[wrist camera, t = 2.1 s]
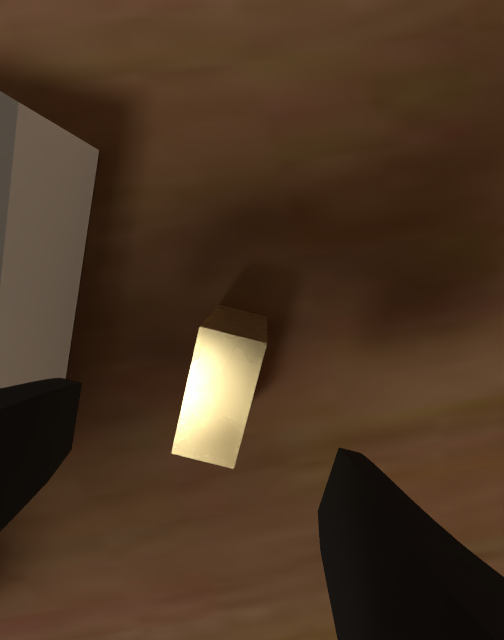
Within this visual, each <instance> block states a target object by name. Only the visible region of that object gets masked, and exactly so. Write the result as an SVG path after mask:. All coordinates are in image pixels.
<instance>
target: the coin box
mask: <svg viewBox="0 0 504 640" xmlns="http://www.w3.org/2000/svg"><path fill="white" fill-rule="evenodd" d="M98 155H99V150H98V149H96V148H95V147H93V146H91V145H90V144H88V143H86V142H85V141H83V140H81V139H79V138H78V137H76V136H74V135H73V134H71V133H69V132H68V131H66V130H64V129H63V128H61V127H59V126H58V125H56V124H54V123H53V122H51V121H49V120H48V119H46V118H44V117H43V116H41V115H39V114H38V113H36V112H34V111H33V110H31V109H29V108H28V107H26V106H24V105H23V104H21V103H19V102H18V101H16V100H14V99H13V98H11V97H9V96H8V95H6V94H4V93H3V92H1V91H0V388H5V387H10V386H14V385H19V384H24V383H29V382H33V381H39V380H44V379H51V378H64V379H66V373H67V366H68V359H69V353H70V346H71V339H72V332H73V325H74V319H75V312H76V305H77V298H78V291H79V284H80V278H81V271H82V264H83V257H84V250H85V244H86V237H87V230H88V223H89V216H90V210H91V203H92V196H93V189H94V182H95V175H96V169H97V162H98Z"/></svg>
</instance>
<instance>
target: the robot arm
mask: <svg viewBox="0 0 504 640" xmlns="http://www.w3.org/2000/svg"><path fill="white" fill-rule="evenodd" d="M81 385H82V383H80V382H76V381H72V380H68V379H64V378H51V379H44V380H39V381H33V382H29V383H24V384H19V385H14V386H10V387H5V388H0V531H1V530H2V529H3V528H4V527H5V526H6V525H7V524H8V523H9V522H10V521H11V520H12V519H13V518H14V517H15V516H16V515H17V514H18V513H19V511H20V510H21V509H22V508H23V507H24V506H25V505H26V504H27V503H28V502H29V501H30V500H31V499H32V498H33V497H34V496H35V495H36V494H37V493H38V491H39V490H40V489H41V488H42V487H43V486H44V485H45V484H46V483H47V482H48V480H49V479H50V478H51V477H52V475H53V474H54V473H55V471H56V470H57V469H58V467H59V466H60V465H61V463H62V462H63V460H64V459H65V458H66V456H67V455H68V453H69V452H70V451H71V449H72V442H73V436H74V430H75V423H76V417H77V410H78V404H79V397H80V391H81ZM318 522H319V538H320V550H321V555H322V561H323V566H324V572H325V577H326V582H327V587H328V593H329V598H330V603H331V608H332V613H333V618H334V623H335V628H336V633H337V638H338V640H504V577H503V576H502V575H500V574H499V573H498V572H496V571H495V570H494V569H493V568H491V567H490V566H489V565H487V564H486V563H485V562H483V561H482V560H481V559H480V558H478V557H477V556H476V555H474V554H473V553H472V552H471V551H470V550H468V549H467V548H466V547H465V546H463V545H462V544H461V543H460V542H459V541H457V540H456V539H455V538H454V537H453V536H452V535H451V534H449V533H448V532H447V531H446V530H445V529H444V528H442V527H441V526H440V525H439V524H438V523H437V522H436V521H434V520H433V519H432V518H431V517H430V516H429V515H428V514H427V513H426V512H424V511H423V510H422V509H421V508H420V507H419V506H418V505H417V504H416V503H415V502H414V501H413V500H412V499H410V498H409V497H408V496H407V495H406V494H405V493H404V492H403V491H402V490H401V489H400V488H399V487H398V486H397V485H396V484H395V483H394V482H393V481H392V480H391V479H389V478H388V477H387V476H386V475H385V474H384V473H383V472H382V471H381V470H380V469H379V468H378V467H377V466H376V465H375V464H374V463H372V462H371V461H370V460H369V459H368V458H367V457H365V456H364V455H363V454H361V453H359V452H355V451H351V450H347V449H343V448H339V449H338V452H337V455H336V458H335V461H334V464H333V467H332V470H331V473H330V476H329V479H328V482H327V485H326V488H325V491H324V494H323V497H322V500H321V503H320V506H319V509H318Z"/></svg>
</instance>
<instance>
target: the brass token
mask: <svg viewBox="0 0 504 640" xmlns="http://www.w3.org/2000/svg"><path fill="white" fill-rule="evenodd" d="M266 346H267V316H263V315H259V314H255V313H251V312H247V311H243V310H239V309H235V308H231V307H227V306H223V305H218V306H217V307H216V308H215V310H214V311H213V312H212V313H211V314H210V315H209V316H208V317H207V319H206V320H205V321H204V322H203V323H202V324H201V325H200V327H199V331H198V336H197V340H196V345H195V349H194V354H193V358H192V363H191V367H190V372H189V376H188V381H187V385H186V390H185V394H184V399H183V403H182V408H181V412H180V417H179V421H178V426H177V430H176V435H175V439H174V444H173V448H172V454H176V455H180V456H184V457H188V458H192V459H196V460H200V461H204V462H208V463H212V464H216V465H220V466H224V467H228V468H232V469H234V466H235V463H236V459H237V455H238V451H239V447H240V444H241V440H242V436H243V432H244V429H245V425H246V421H247V417H248V414H249V410H250V406H251V402H252V399H253V395H254V391H255V387H256V384H257V380H258V376H259V372H260V369H261V365H262V361H263V357H264V353H265V350H266Z"/></svg>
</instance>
